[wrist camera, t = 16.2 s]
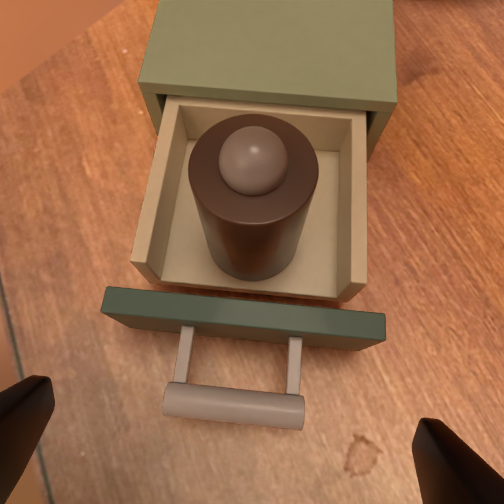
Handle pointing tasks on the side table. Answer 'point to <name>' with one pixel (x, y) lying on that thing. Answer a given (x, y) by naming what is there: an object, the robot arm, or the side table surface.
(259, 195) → the pepper mill
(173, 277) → the drawer
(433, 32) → the side table surface
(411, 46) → the side table surface
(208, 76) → the cabinet
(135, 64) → the side table surface
